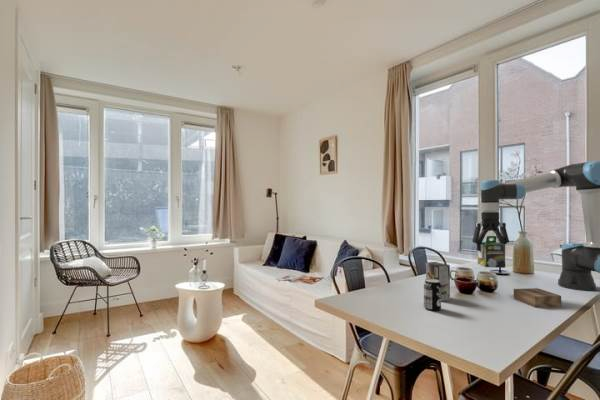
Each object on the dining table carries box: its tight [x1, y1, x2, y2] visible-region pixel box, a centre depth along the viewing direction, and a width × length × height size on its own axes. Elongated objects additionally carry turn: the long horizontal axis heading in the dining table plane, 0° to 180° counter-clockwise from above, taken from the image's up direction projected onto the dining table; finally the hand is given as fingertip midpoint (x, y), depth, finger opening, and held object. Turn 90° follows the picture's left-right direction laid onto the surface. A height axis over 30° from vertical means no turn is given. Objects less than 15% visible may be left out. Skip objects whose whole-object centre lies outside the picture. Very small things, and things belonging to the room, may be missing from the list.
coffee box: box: [425, 261, 451, 302], centre depth 147 cm, size 9×6×16 cm
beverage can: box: [423, 278, 442, 312], centre depth 132 cm, size 7×7×12 cm
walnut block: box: [513, 287, 562, 308], centre depth 140 cm, size 12×12×5 cm
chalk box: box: [477, 235, 506, 269], centre depth 154 cm, size 9×9×15 cm
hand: (491, 257), depth 154 cm, fingers closed on chalk box, 9 cm apart
